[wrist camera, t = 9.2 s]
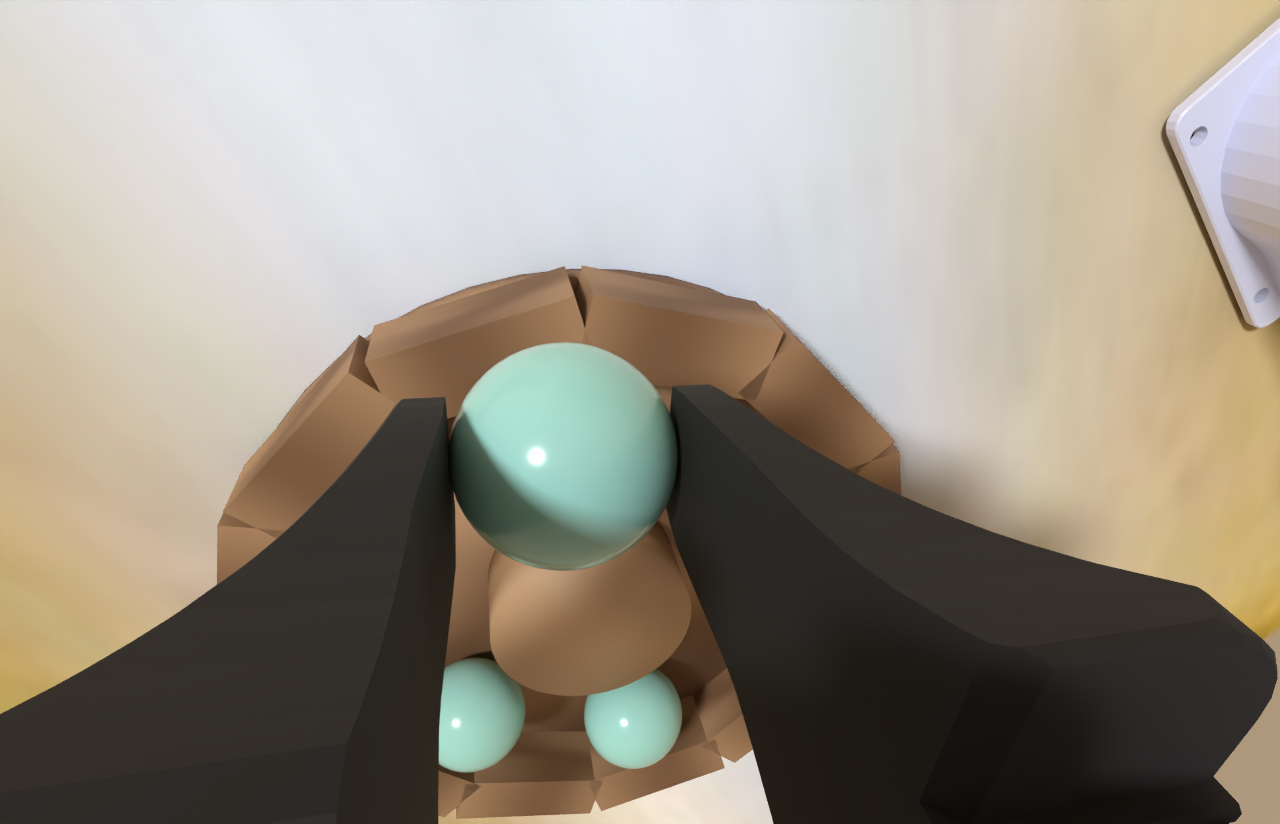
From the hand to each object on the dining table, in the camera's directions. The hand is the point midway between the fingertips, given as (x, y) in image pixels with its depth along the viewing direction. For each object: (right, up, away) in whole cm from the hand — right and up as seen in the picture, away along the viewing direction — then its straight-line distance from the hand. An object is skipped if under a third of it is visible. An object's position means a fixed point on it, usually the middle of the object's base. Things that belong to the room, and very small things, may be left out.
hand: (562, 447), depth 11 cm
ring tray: (-1, -4, +13) cm, 13 cm away
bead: (0, +1, +1) cm, 1 cm away
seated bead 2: (+1, -9, +15) cm, 18 cm away
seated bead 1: (-5, -8, +13) cm, 16 cm away
